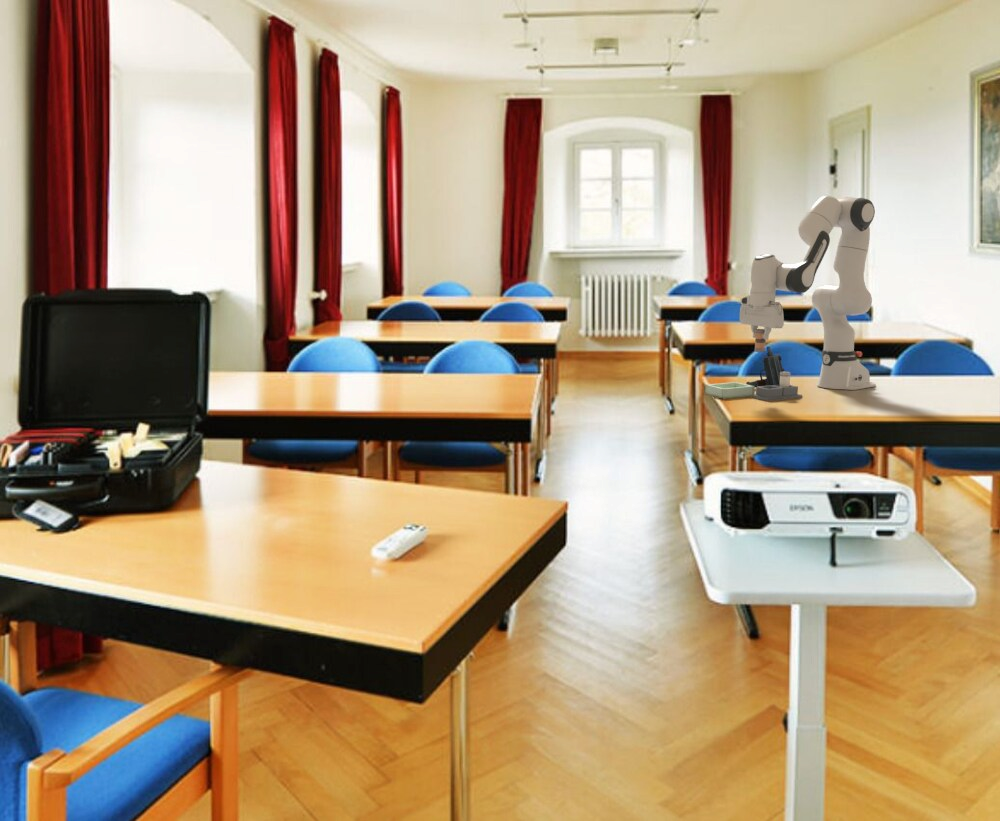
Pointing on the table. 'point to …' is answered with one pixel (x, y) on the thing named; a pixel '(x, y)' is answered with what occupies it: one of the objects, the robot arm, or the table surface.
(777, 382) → the gun
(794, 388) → the block
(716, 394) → the tray
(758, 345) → the fuse
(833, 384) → the robot arm
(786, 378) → the ball
